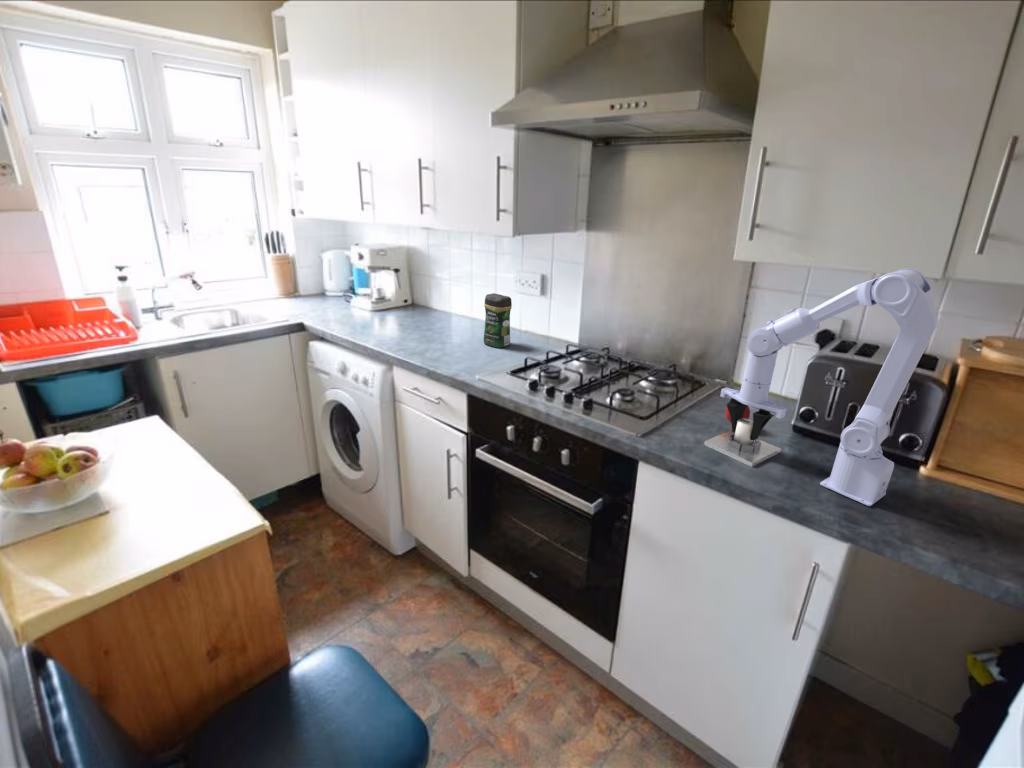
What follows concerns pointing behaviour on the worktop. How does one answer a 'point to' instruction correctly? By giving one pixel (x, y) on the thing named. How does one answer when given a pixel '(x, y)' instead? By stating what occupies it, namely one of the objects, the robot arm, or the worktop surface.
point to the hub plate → (742, 455)
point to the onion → (746, 415)
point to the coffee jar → (497, 320)
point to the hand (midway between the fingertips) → (744, 435)
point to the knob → (743, 431)
